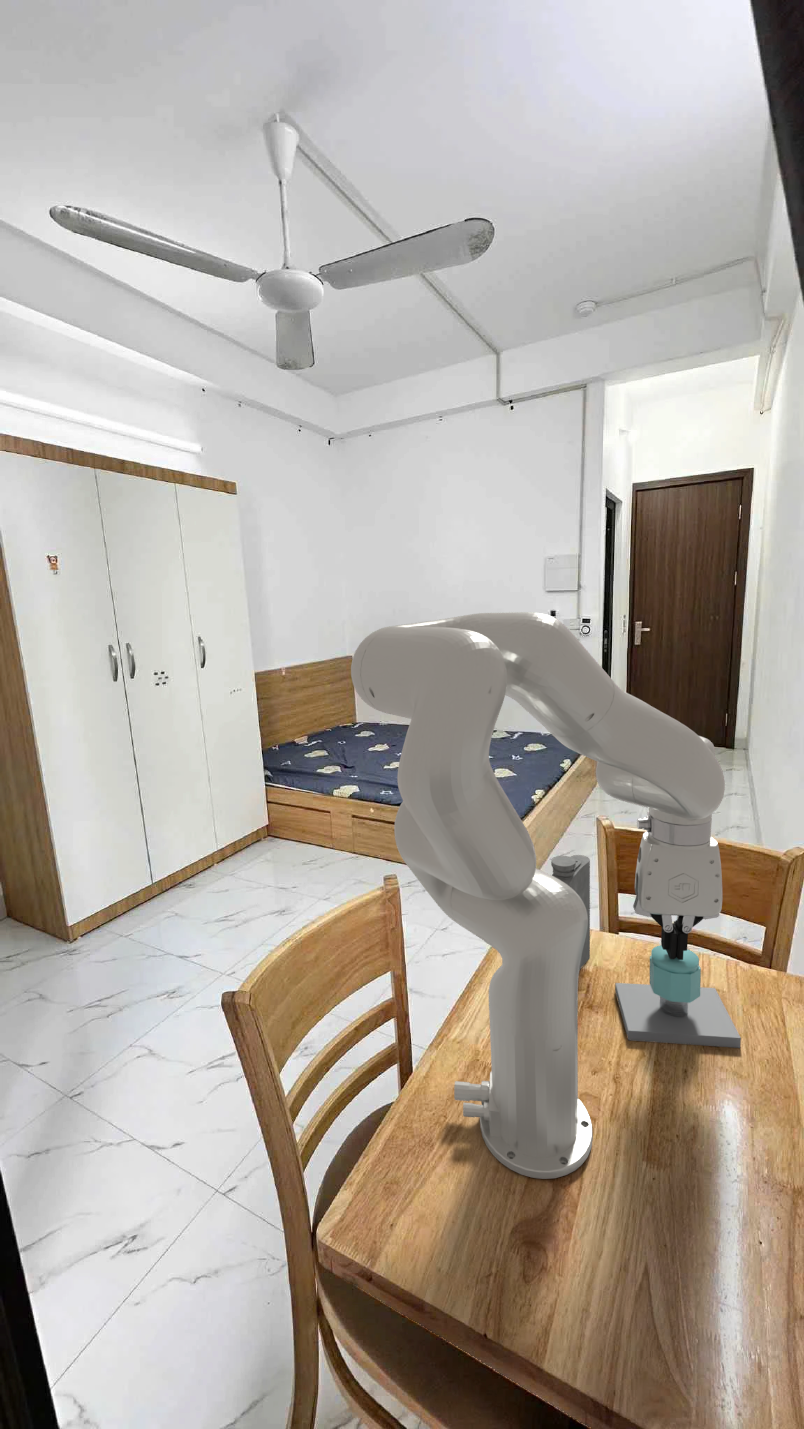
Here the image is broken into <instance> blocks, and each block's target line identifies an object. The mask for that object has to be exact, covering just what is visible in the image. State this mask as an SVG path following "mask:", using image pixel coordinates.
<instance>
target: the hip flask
mask: <svg viewBox="0 0 804 1429" xmlns="http://www.w3.org/2000/svg"><path fill="white" fill-rule="evenodd" d="M550 862H551V863H550V864H551V867H552V874H551V875H552V876H554V877H556V878H557V879H559V880H561V881H562V882H564V883H565V884H567V885H568V886H570V887H571V888H572V889H573V890H574V891H575V892H576V893H577V894H578V895H579V897H580V898H581V900H582V901H583V903H584V905H585V908H586V911H587V916H588V927H587V933H586V938H585V943H584V947H583V951H582V956H581V961H580V968H579V971H581V969H582V968H583V966H585V964H586V963H587V962H588V961H589V960H590V959H591V954H590V952H591V942H590V941H591V905H590V904H591V903H590V902H591V879H590V878H591V859H590V858H589V856H587V855H583V854H574V855H571V856H568V855H557V856H554V857H552V858H551V860H550Z"/></svg>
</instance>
